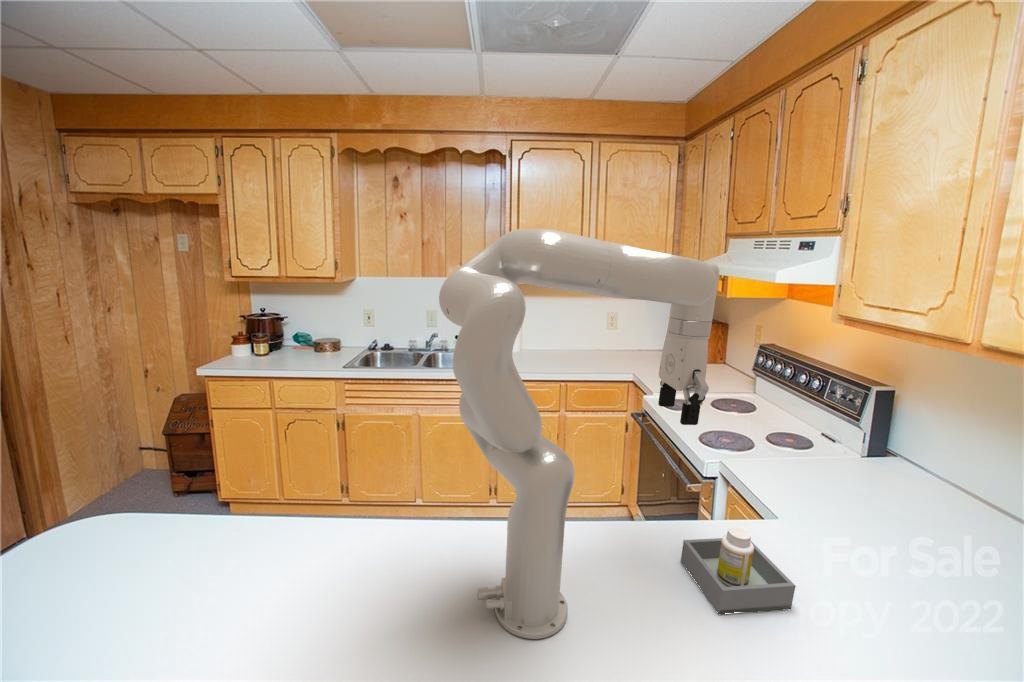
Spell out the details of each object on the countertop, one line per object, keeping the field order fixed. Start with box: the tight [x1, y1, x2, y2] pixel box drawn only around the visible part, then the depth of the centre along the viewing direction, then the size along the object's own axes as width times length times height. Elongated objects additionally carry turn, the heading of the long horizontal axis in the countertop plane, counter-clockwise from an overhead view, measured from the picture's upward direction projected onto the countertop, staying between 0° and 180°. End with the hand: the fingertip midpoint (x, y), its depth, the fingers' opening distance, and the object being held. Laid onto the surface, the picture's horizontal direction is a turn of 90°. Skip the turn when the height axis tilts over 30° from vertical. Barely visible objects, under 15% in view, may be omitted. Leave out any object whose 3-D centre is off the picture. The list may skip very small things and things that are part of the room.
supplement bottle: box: [717, 525, 754, 587], centre depth 89 cm, size 6×6×10 cm
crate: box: [680, 537, 796, 615], centre depth 90 cm, size 14×14×5 cm
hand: (676, 414), depth 91 cm, fingers open, 9 cm apart
